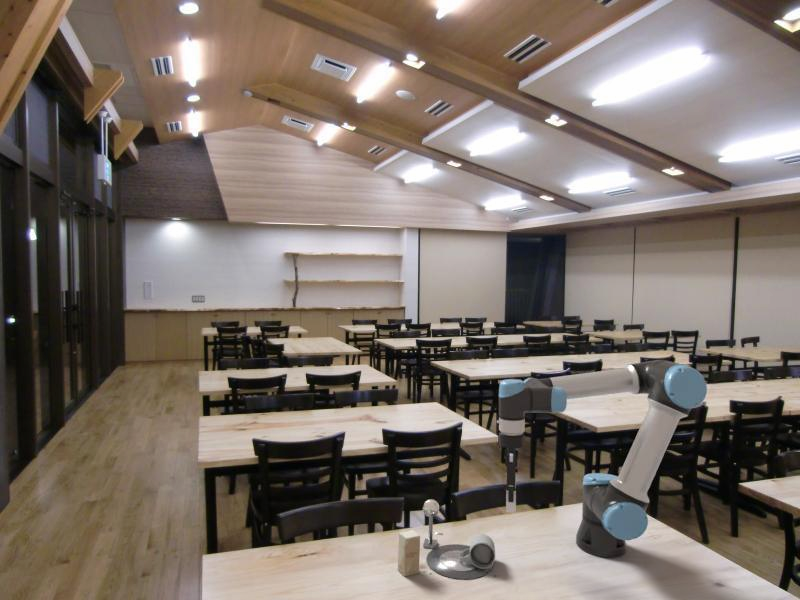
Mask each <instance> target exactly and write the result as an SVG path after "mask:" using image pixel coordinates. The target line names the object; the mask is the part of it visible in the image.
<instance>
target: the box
mask: <svg viewBox="0 0 800 600" xmlns="http://www.w3.org/2000/svg"><path fill="white" fill-rule="evenodd" d="M397 551H398V553H397V554H398V555H397V556H398V558H397V571H399V573H400V574H401V575H402V576H404V577H408V576H413V575H416V574H419V573H420V558H421V557H420V551H421V535H420V534H419V533H418V532H417V531H416V530H414V529H411V530H405V531H401V532H399V533H398V550H397Z"/></svg>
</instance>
